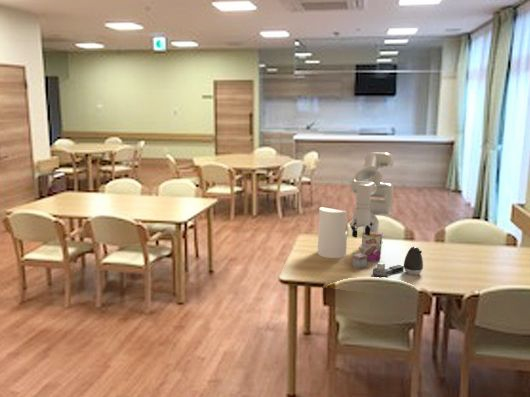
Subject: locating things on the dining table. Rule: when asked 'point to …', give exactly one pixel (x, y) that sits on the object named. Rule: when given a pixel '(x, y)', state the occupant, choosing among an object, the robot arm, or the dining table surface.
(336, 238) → the cylinder
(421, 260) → the dark brown rounded piece
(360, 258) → the cardboard mailer box
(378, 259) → the candy bar box
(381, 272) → the small saucepan
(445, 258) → the dining table surface
